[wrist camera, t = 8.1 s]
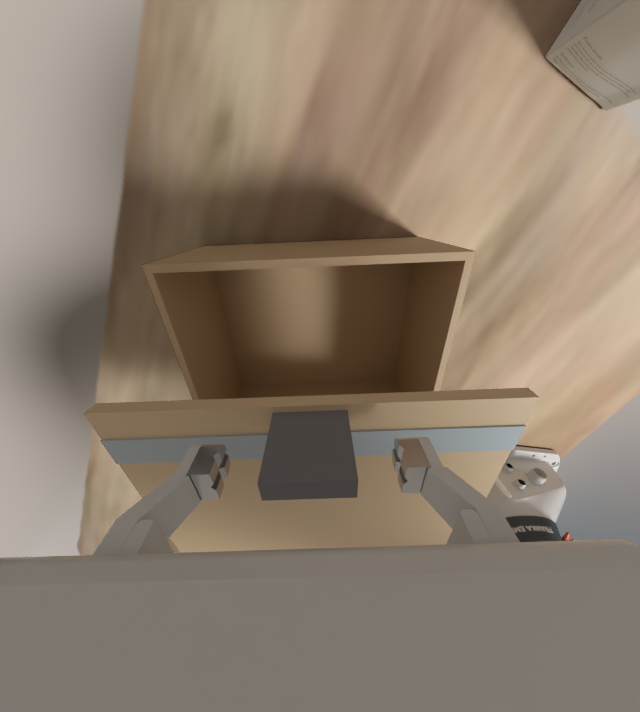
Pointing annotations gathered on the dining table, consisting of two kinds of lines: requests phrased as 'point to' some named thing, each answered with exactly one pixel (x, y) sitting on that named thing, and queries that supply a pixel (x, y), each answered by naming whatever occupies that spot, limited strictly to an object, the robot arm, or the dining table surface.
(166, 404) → the carton lid
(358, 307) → the carton
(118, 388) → the dining table surface
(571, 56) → the skincare box
